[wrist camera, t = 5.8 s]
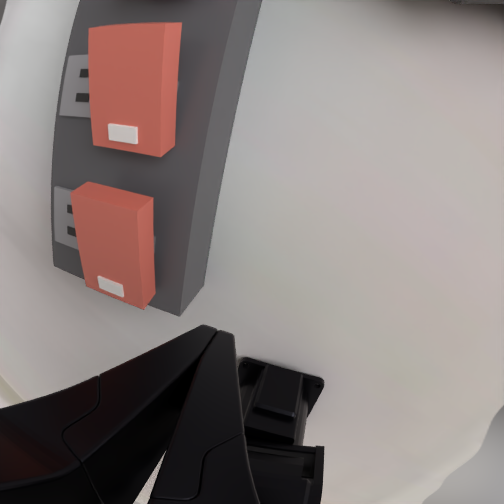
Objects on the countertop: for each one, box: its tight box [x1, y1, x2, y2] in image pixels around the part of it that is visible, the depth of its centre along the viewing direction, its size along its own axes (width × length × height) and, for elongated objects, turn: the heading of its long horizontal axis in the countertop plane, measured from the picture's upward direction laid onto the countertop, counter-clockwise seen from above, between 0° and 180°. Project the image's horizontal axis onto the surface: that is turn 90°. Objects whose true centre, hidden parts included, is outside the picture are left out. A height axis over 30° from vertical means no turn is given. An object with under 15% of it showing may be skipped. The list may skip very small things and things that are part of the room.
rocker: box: [88, 22, 182, 157], centre depth 12 cm, size 6×4×2 cm, turn 168°
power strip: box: [51, 0, 262, 316], centre depth 13 cm, size 34×10×5 cm, turn 168°
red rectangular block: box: [70, 181, 156, 310], centre depth 16 cm, size 6×4×2 cm, turn 168°
